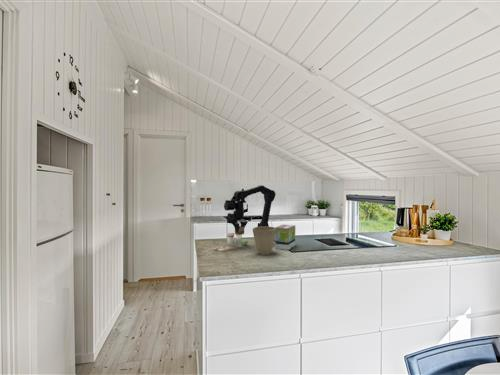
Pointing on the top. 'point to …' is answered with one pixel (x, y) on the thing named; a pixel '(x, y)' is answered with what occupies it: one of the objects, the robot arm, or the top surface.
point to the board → (223, 248)
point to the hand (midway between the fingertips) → (239, 232)
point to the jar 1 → (230, 240)
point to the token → (240, 230)
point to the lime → (244, 241)
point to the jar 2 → (238, 239)
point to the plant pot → (264, 239)
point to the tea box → (285, 237)
